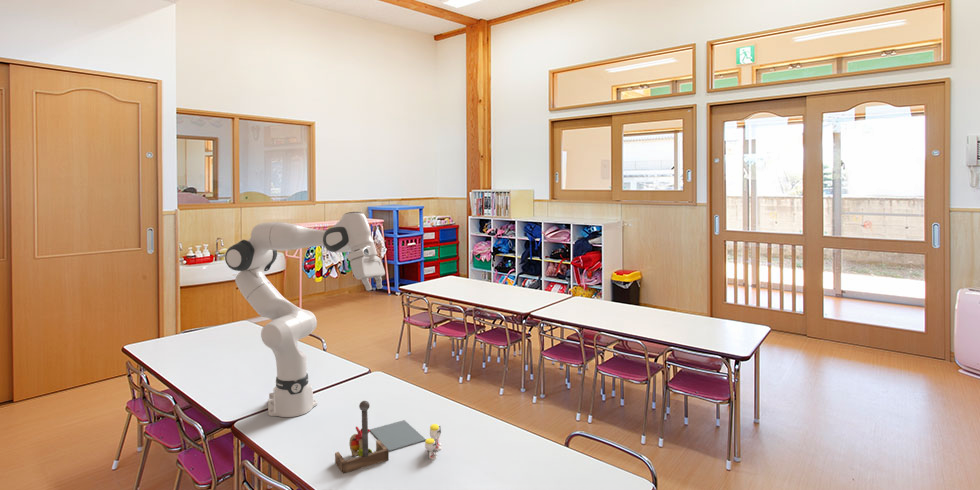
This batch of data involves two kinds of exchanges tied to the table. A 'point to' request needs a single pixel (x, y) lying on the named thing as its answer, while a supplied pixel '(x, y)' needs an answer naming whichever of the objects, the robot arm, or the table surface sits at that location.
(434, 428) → the toy figures
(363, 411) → the wooden lever stand
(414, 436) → the mat
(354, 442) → the bird rattle
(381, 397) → the table surface
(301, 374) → the robot arm
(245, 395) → the table surface
